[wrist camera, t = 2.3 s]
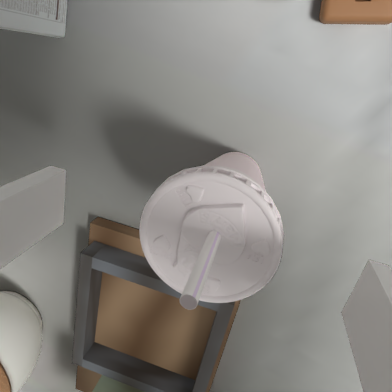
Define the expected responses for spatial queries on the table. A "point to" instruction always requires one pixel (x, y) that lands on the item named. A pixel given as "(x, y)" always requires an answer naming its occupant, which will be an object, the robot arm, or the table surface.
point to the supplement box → (34, 16)
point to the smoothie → (213, 231)
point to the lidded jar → (18, 340)
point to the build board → (140, 322)
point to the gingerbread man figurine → (356, 12)
